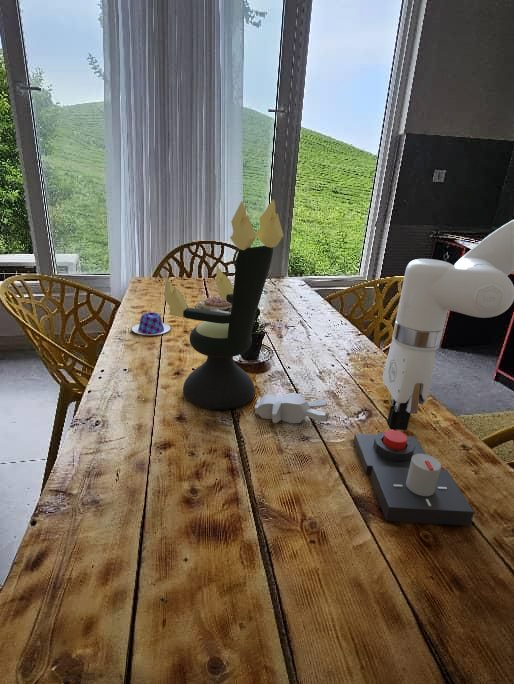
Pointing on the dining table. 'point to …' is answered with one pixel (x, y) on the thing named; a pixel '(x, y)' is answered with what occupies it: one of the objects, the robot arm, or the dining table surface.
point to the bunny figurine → (289, 408)
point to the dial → (423, 474)
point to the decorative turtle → (214, 304)
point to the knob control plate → (419, 499)
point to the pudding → (151, 325)
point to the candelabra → (229, 317)
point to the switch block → (384, 452)
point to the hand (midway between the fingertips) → (396, 427)
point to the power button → (395, 439)
